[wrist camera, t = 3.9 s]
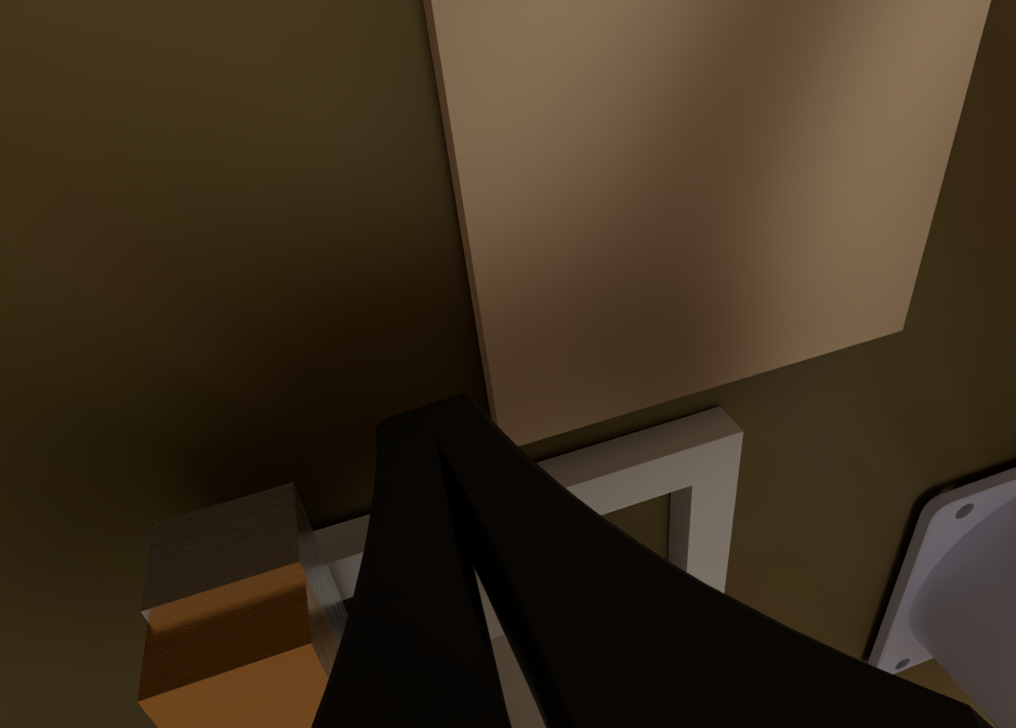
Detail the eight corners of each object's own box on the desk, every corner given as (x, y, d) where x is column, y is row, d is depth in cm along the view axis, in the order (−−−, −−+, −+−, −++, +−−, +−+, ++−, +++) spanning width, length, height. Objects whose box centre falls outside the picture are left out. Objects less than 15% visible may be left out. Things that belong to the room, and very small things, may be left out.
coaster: (1012, -210, 9) (1047, -215, 8) (883, 317, 14) (902, 330, 13) (401, -128, 7) (411, -129, 7) (493, 432, 12) (502, 451, 12)
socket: (720, 406, 13) (743, 431, 13) (695, 681, 19) (710, 708, 19) (189, 570, 12) (186, 608, 11) (339, 819, 17) (343, 853, 17)
